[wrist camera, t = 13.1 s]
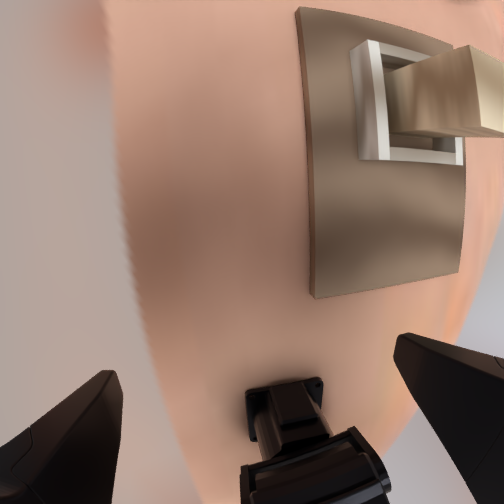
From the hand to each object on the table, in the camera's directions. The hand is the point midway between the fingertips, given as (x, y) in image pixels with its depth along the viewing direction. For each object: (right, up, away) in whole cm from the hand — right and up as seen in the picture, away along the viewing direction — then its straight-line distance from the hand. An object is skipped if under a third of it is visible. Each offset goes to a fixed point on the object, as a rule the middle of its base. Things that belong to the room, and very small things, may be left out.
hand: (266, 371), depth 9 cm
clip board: (+10, +11, +11) cm, 19 cm away
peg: (+10, +13, +9) cm, 19 cm away
